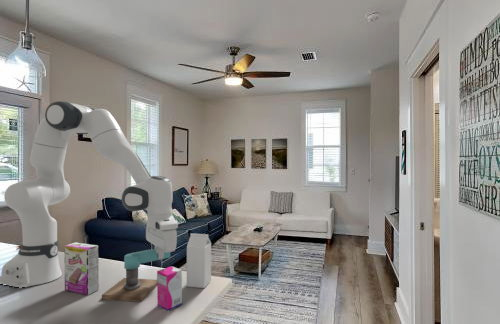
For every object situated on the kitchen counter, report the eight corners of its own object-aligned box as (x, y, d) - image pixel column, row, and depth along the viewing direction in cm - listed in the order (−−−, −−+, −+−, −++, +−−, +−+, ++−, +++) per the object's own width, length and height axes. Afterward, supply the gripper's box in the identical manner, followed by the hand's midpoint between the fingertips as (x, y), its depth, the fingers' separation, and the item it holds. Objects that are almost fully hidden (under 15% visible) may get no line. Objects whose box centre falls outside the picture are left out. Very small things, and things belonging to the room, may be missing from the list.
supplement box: (171, 299, 100) (171, 265, 100) (182, 304, 97) (182, 269, 96) (156, 305, 96) (156, 270, 96) (167, 311, 92) (167, 275, 92)
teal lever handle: (126, 270, 102) (126, 256, 102) (122, 266, 106) (122, 252, 106) (172, 260, 113) (172, 247, 112) (166, 256, 117) (166, 244, 117)
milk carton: (204, 288, 108) (204, 237, 108) (186, 286, 110) (186, 235, 110) (211, 280, 115) (211, 232, 115) (193, 279, 117) (194, 231, 117)
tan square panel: (101, 299, 100) (101, 273, 100) (123, 281, 114) (124, 259, 114) (141, 301, 98) (141, 275, 98) (159, 283, 112) (159, 260, 112)
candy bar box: (63, 291, 105) (63, 245, 105) (75, 285, 110) (75, 241, 110) (87, 296, 102) (87, 248, 102) (99, 290, 107) (99, 244, 106)
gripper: (141, 216, 115) (141, 252, 115) (162, 226, 99) (162, 268, 99) (157, 215, 119) (157, 249, 119) (180, 224, 103) (179, 264, 103)
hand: (159, 258), depth 109 cm, fingers closed
